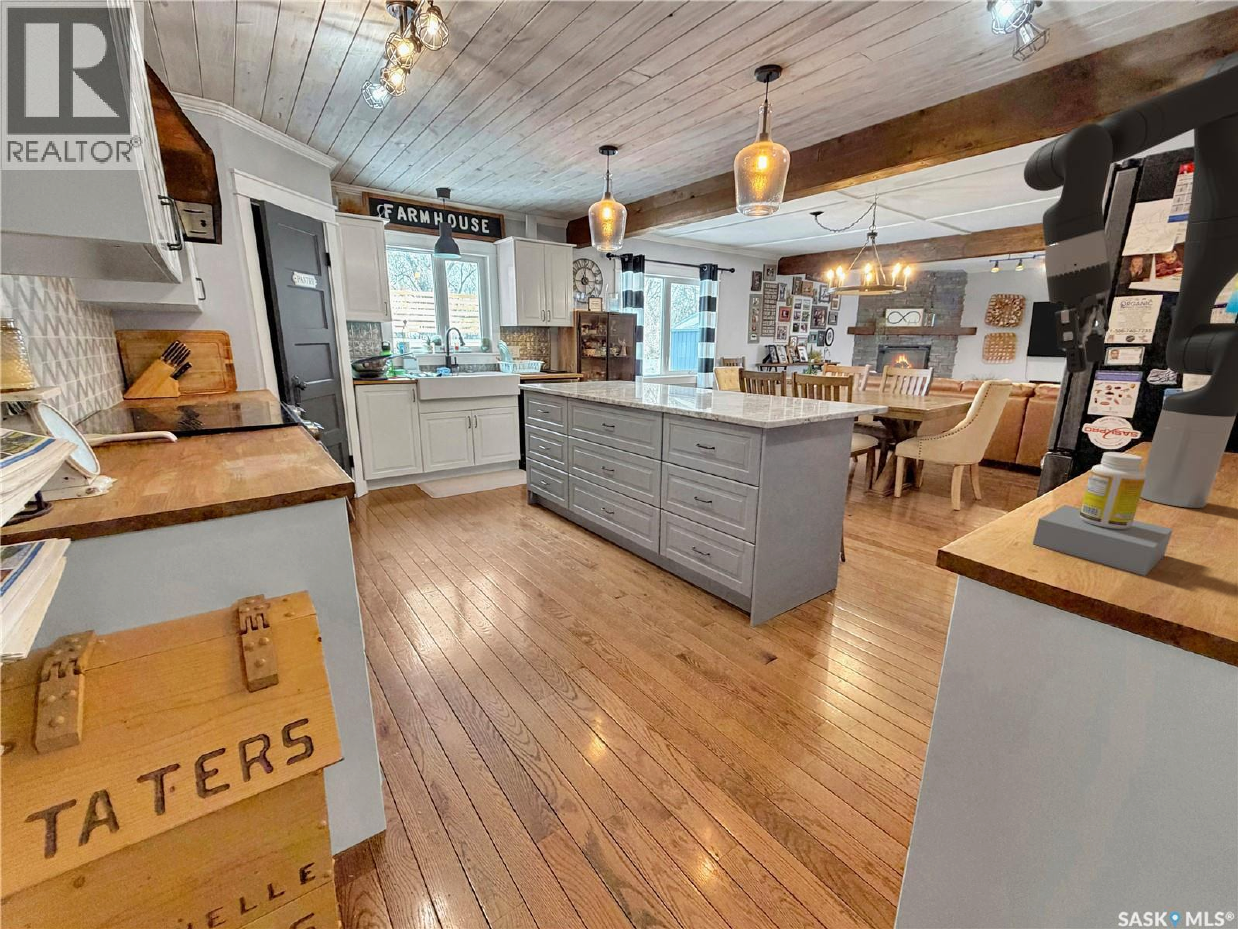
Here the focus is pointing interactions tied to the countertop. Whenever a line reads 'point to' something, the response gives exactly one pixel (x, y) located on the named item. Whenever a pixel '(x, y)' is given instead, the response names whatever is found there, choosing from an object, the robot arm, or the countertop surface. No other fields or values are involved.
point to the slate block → (1103, 540)
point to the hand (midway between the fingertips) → (1087, 366)
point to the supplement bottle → (1113, 491)
